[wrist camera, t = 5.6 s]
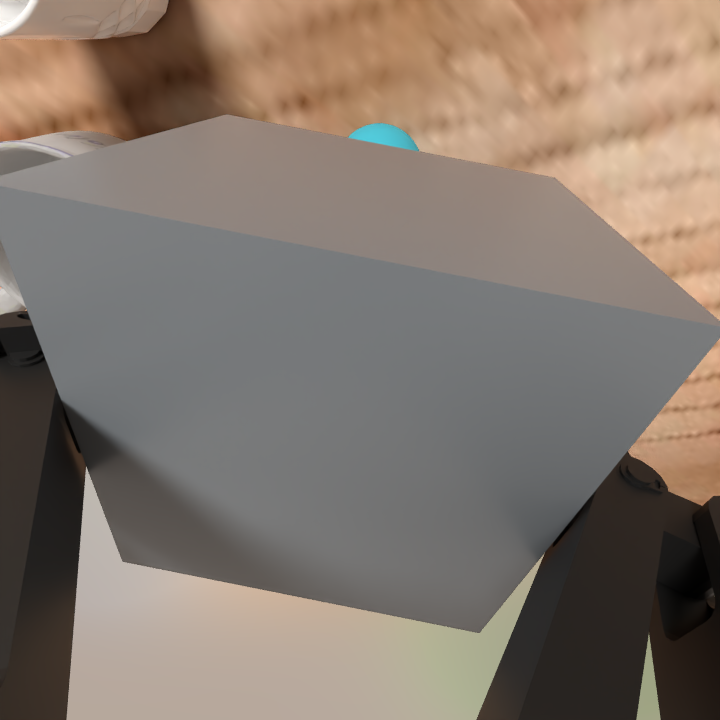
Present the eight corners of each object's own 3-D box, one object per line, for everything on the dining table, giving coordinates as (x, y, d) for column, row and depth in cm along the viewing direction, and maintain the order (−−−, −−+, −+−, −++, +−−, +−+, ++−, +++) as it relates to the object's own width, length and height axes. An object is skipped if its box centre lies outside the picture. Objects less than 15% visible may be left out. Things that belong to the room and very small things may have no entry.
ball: (432, 129, 24) (436, 141, 20) (410, 215, 27) (410, 241, 23) (347, 110, 24) (334, 119, 20) (335, 199, 27) (321, 222, 22)
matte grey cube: (554, 177, 13) (728, 327, 5) (457, 415, 19) (479, 632, 12) (226, 114, 13) (-23, 181, 6) (235, 372, 19) (122, 561, 12)
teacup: (153, 92, 24) (59, 101, 18) (246, 260, 30) (199, 313, 23) (-7, 179, 28) (-132, 212, 22) (101, 313, 34) (27, 371, 27)
